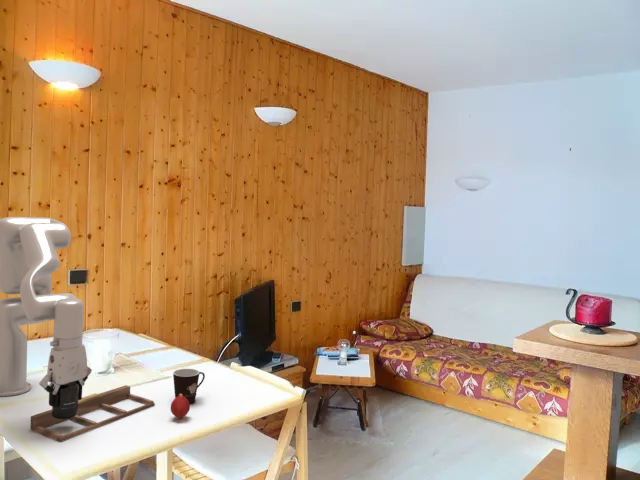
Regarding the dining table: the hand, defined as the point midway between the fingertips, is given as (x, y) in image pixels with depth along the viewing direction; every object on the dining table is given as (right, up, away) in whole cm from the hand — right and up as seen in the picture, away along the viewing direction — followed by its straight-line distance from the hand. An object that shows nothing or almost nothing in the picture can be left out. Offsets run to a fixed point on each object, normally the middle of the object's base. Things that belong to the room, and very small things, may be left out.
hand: (65, 402), depth 157 cm
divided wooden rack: (+6, -8, +10) cm, 13 cm away
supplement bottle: (0, -4, 0) cm, 4 cm away
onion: (+30, -9, +12) cm, 33 cm away
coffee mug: (+29, -8, +27) cm, 41 cm away
